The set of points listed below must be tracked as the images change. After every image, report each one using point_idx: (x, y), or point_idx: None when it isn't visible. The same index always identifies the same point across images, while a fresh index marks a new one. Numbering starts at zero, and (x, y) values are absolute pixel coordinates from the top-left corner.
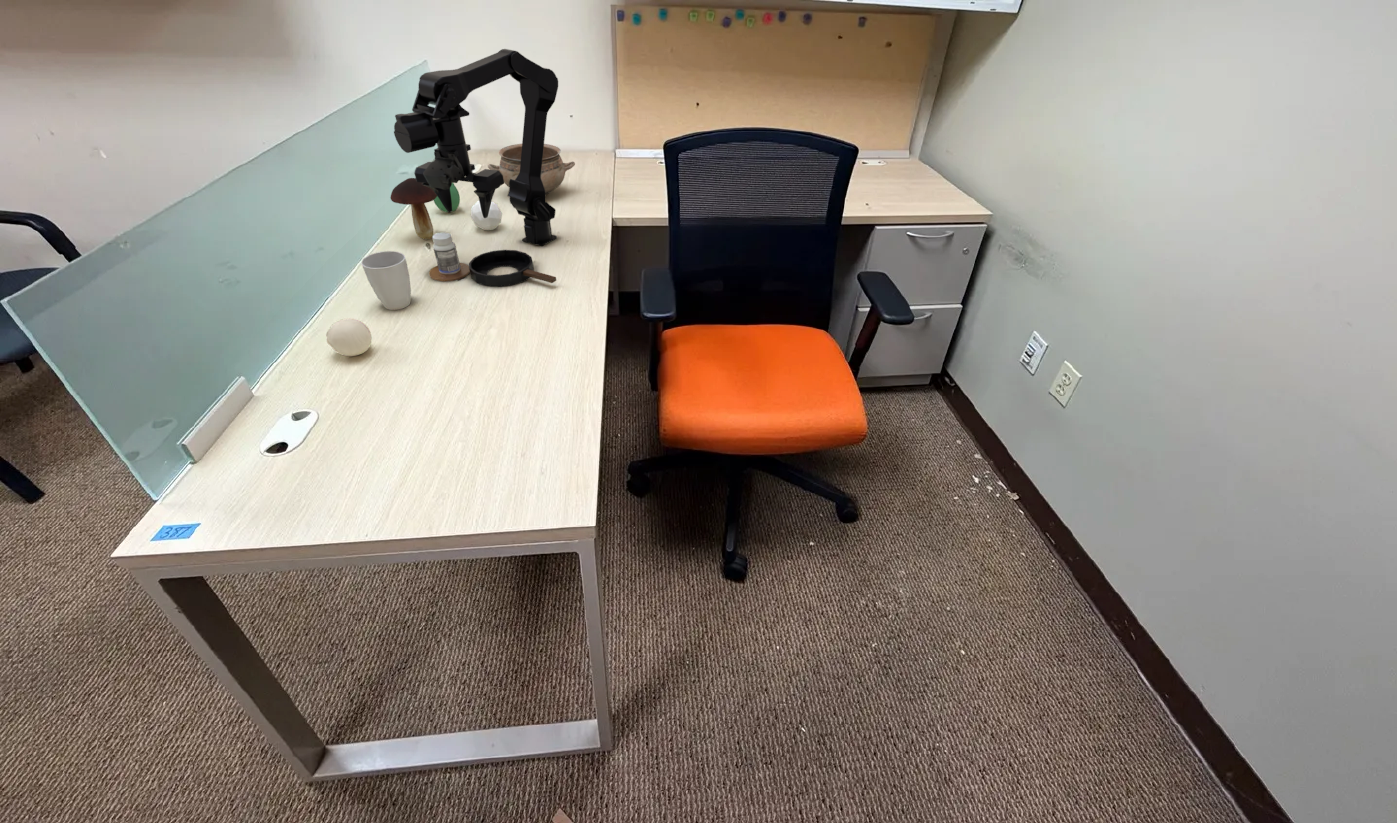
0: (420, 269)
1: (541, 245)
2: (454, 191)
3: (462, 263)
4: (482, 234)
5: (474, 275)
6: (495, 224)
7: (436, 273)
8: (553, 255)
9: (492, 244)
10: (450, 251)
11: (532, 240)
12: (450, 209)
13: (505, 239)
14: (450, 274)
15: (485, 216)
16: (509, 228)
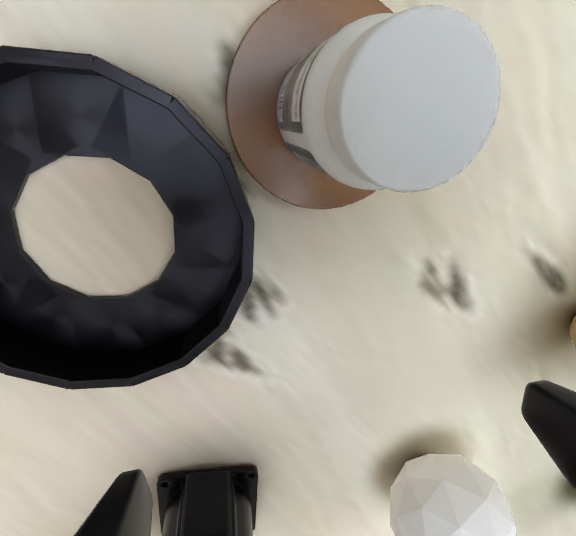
0: None
1: (159, 476)
2: None
3: (324, 205)
4: (417, 431)
5: (111, 63)
6: (395, 490)
7: None
8: (57, 450)
9: (337, 398)
10: (302, 79)
11: (193, 482)
12: (544, 419)
13: (321, 445)
14: None
15: (110, 492)
16: (362, 498)
